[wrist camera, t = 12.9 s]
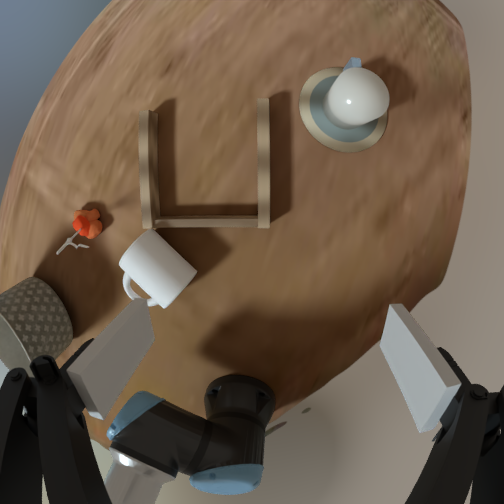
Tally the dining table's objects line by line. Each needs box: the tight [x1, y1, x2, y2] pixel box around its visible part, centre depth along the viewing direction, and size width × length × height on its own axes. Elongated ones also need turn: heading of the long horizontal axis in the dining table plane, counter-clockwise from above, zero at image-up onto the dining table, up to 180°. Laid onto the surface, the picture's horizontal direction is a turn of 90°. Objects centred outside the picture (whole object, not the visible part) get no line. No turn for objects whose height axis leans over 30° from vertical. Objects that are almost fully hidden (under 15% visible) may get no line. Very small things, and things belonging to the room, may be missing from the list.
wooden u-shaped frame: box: [139, 99, 270, 228], centre depth 37 cm, size 18×19×4 cm
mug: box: [119, 229, 197, 308], centre depth 41 cm, size 12×10×8 cm
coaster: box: [299, 67, 387, 152], centre depth 35 cm, size 14×14×1 cm
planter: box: [0, 277, 73, 377], centre depth 42 cm, size 19×19×18 cm
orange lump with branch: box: [56, 209, 102, 254], centre depth 38 cm, size 6×10×12 cm, turn 56°
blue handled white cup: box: [322, 57, 389, 130], centre depth 30 cm, size 7×9×9 cm
